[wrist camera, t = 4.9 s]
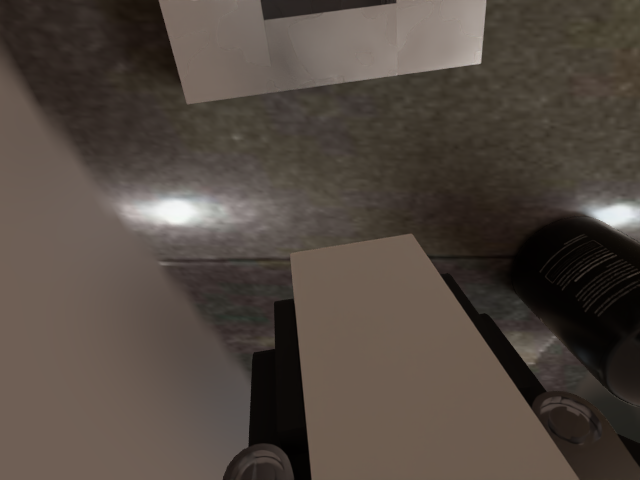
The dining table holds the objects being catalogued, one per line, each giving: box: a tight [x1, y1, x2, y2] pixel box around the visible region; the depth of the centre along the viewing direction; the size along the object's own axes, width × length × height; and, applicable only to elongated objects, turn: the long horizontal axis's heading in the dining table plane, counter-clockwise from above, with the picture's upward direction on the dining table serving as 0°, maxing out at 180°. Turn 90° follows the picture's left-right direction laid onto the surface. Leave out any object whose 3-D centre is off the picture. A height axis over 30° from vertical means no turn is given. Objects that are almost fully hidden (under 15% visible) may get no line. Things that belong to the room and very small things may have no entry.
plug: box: [290, 234, 579, 480], centre depth 9 cm, size 4×4×7 cm
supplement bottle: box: [512, 216, 640, 407], centre depth 20 cm, size 7×7×12 cm
